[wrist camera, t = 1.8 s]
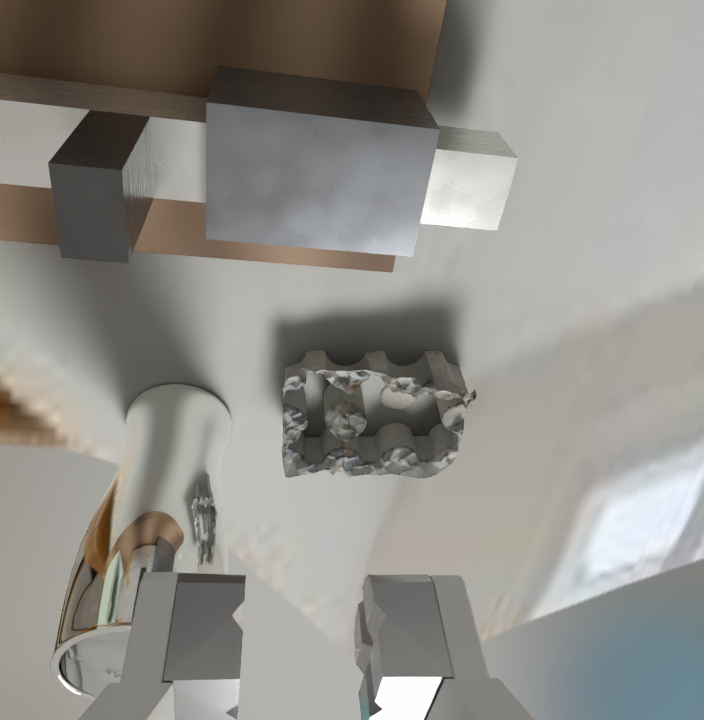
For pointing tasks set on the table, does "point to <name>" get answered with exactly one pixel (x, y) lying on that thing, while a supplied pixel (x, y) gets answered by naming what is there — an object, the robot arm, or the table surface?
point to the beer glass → (145, 529)
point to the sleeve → (316, 162)
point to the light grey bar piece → (180, 161)
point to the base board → (209, 82)
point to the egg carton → (347, 420)
